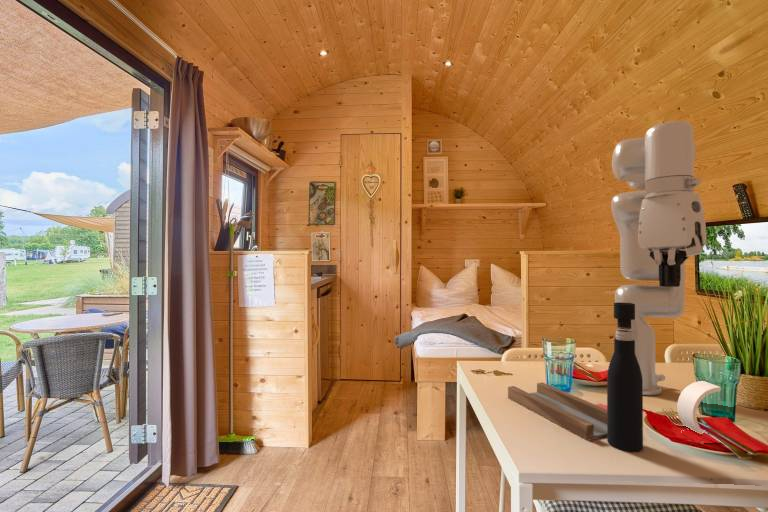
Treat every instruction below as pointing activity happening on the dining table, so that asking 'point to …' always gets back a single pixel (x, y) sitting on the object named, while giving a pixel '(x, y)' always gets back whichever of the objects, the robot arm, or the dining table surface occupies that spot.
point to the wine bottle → (624, 386)
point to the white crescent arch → (693, 403)
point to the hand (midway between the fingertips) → (669, 286)
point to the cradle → (564, 410)
